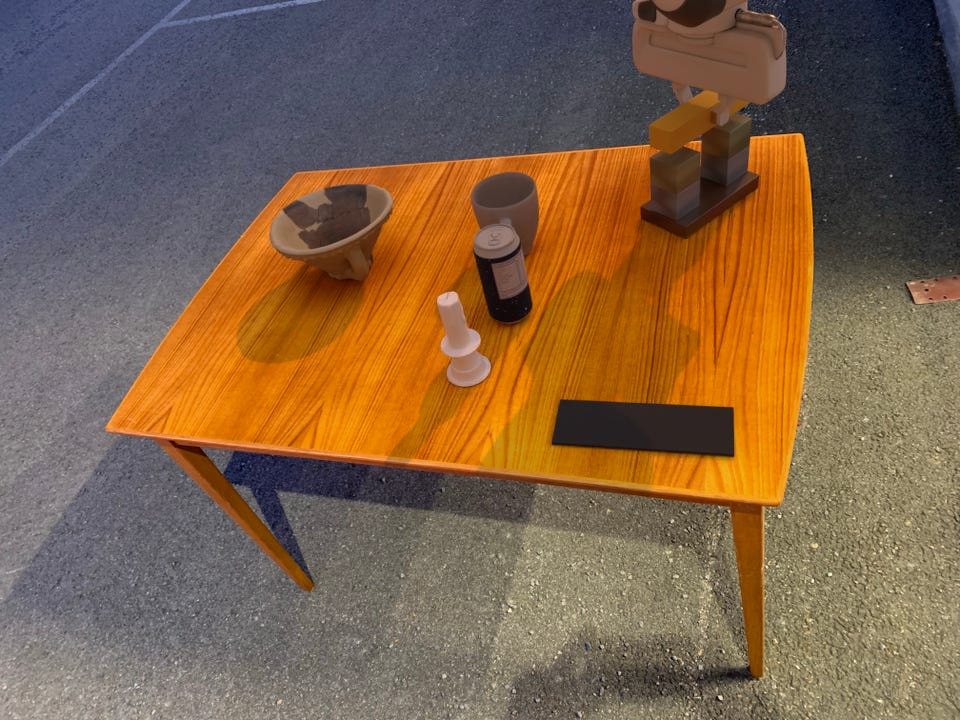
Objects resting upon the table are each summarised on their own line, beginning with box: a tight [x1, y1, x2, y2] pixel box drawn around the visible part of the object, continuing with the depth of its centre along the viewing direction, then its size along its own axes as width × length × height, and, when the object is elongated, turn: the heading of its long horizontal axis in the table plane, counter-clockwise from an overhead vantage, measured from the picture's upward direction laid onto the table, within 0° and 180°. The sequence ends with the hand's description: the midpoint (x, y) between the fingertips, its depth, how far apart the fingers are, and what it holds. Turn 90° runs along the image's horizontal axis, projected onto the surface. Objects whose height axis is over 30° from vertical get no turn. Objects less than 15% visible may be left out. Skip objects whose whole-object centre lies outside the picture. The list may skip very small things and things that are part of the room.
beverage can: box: [472, 224, 534, 325], centre depth 85 cm, size 6×6×12 cm
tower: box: [639, 112, 761, 240], centre depth 94 cm, size 8×15×10 cm, turn 128°
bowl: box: [268, 183, 394, 282], centre depth 100 cm, size 18×18×10 cm
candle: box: [436, 291, 492, 388], centre depth 79 cm, size 5×5×12 cm
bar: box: [648, 89, 752, 154], centre depth 88 cm, size 4×16×3 cm, turn 128°
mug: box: [470, 171, 540, 257], centre depth 94 cm, size 12×9×10 cm
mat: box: [551, 398, 736, 458], centre depth 72 cm, size 18×6×1 cm, turn 77°
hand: (703, 118), depth 88 cm, fingers closed on bar, 3 cm apart
